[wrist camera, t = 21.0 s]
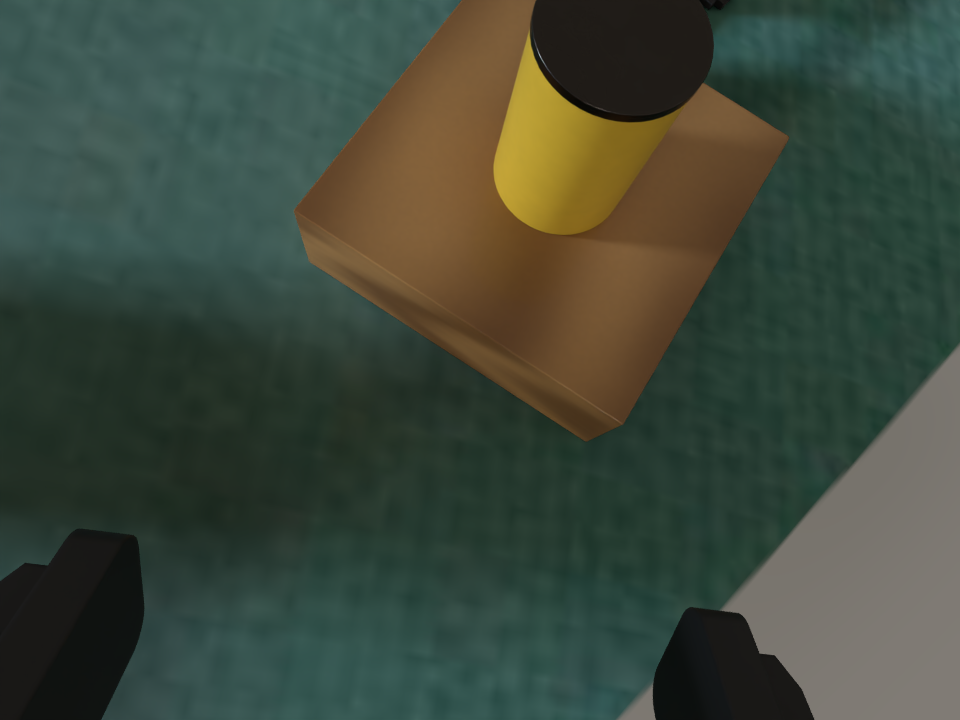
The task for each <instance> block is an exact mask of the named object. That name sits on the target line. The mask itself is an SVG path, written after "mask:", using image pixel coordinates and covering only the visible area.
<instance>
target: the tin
mask: <svg viewBox="0 0 960 720" xmlns="http://www.w3.org/2000/svg"><path fill="white" fill-rule="evenodd" d="M713 49H714V42H713V33H712V28H711V24H710V21H709V18H708V15H707V13H706V11H705V9H704V7H703V5H702V4H701V2H700V1H699V0H536V1H535V4H534V7H533V11H532V15H531V21H530V29H529V33H528V37H527V40H526V44H525V48H524V51H523V55H522V59H521V62H520V66H519V70H518V73H517V77H516V81H515V85H514V88H513V92H512V96H511V99H510V103H509V107H508V110H507V114H506V118H505V121H504V125H503V129H502V132H501V136H500V140H499V143H498V147H497V151H496V155H495V159H494V180H495V184H496V188H497V190H498V193H499V195H500V197H501V199H502V200H503V202H504V204H505V205H506V206H507V208H508V209H509V210H510V211H511V212H512V213H513V214H514V215H515V216H516V217H517V218H518V219H519V220H521V221H522V222H524V223H525V224H527V225H528V226H530V227H532V228H534V229H537V230H539V231H542V232H545V233H550V234H557V235H571V234H577V233H582V232H585V231H588V230H590V229H592V228H594V227H596V226H597V225H599V224H600V223H602V222H603V221H604V220H605V219H606V218H608V216H609V215H610V214H611V213H612V212H613V210H614V209H615V207H616V206H617V204H618V203H619V202H620V200H621V199H622V197H623V196H624V194H625V193H626V191H627V190H628V188H629V187H630V185H631V184H632V183H633V181H634V180H635V178H636V177H637V175H638V174H639V172H640V171H641V169H642V168H643V166H644V165H645V164H646V162H647V161H648V159H649V158H650V156H651V155H652V153H653V152H654V150H655V149H656V147H657V146H658V145H659V143H660V142H661V140H662V139H663V137H664V136H665V134H666V133H667V131H668V130H669V128H670V127H671V126H672V124H673V123H674V121H675V120H676V118H677V117H678V115H679V114H680V112H681V111H682V109H683V108H684V107H685V105H686V104H687V102H688V101H689V100H690V99H691V98H692V97H693V96H694V95H695V93H696V92H697V91H698V89H699V88H700V86H701V85H702V83H703V82H704V80H705V78H706V77H707V74H708V72H709V69H710V67H711V63H712V59H713Z"/></svg>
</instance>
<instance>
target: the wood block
mask: <svg viewBox="0 0 960 720" xmlns="http://www.w3.org/2000/svg"><path fill="white" fill-rule="evenodd" d="M535 1H536V0H462V1H461V2H460V3H459V5H458V6H457V7H456V8H455V10H454V11H453V12H452V13H451V15H450V16H449V17H448V18H447V20H446V21H445V22H444V23H443V25H442V26H441V27H440V28H439V30H438V31H437V32H436V33H435V35H434V36H433V37H432V38H431V40H430V41H429V42H428V43H427V44H426V46H425V47H424V48H423V49H422V51H421V52H420V53H419V54H418V56H417V57H416V58H415V59H414V61H413V62H412V63H411V64H410V66H409V67H408V68H407V69H406V71H405V72H404V73H403V74H402V76H401V77H400V78H399V79H398V81H397V82H396V83H395V84H394V86H393V87H392V88H391V89H390V91H389V92H388V93H387V94H386V96H385V97H384V98H383V99H382V101H381V102H380V103H379V104H378V106H377V107H376V108H375V109H374V111H373V112H372V113H371V114H370V116H369V117H368V118H367V119H366V121H365V122H364V123H363V124H362V126H361V127H360V128H359V129H358V131H357V132H356V133H355V134H354V136H353V137H352V138H351V139H350V141H349V142H348V143H347V144H346V146H345V147H344V148H343V149H342V151H341V152H340V153H339V154H338V156H337V157H336V158H335V159H334V161H333V162H332V163H331V164H330V166H329V167H328V168H327V169H326V171H325V172H324V173H323V174H322V176H321V177H320V178H319V179H318V181H317V182H316V183H315V184H314V185H313V187H312V188H311V189H310V190H309V192H308V193H307V194H306V195H305V197H304V198H303V199H302V200H301V202H300V203H299V204H298V205H297V207H296V208H295V209H294V213H295V217H296V220H297V223H298V226H299V230H300V233H301V236H302V239H303V243H304V246H305V249H306V252H307V256H308V259H309V262H311V263H312V264H314V265H315V266H317V267H318V268H320V269H321V270H323V271H325V272H326V273H328V274H329V275H331V276H332V277H334V278H335V279H337V280H338V281H340V282H341V283H343V284H344V285H346V286H348V287H349V288H351V289H352V290H354V291H355V292H357V293H358V294H360V295H361V296H363V297H364V298H366V299H367V300H369V301H371V302H372V303H374V304H375V305H377V306H378V307H380V308H381V309H383V310H384V311H386V312H387V313H389V314H391V315H392V316H394V317H395V318H397V319H398V320H400V321H401V322H403V323H404V324H406V325H407V326H409V327H410V328H412V329H414V330H415V331H417V332H418V333H420V334H421V335H423V336H424V337H426V338H427V339H429V340H430V341H432V342H433V343H435V344H437V345H438V346H440V347H441V348H443V349H444V350H446V351H447V352H449V353H450V354H452V355H453V356H455V357H456V358H458V359H460V360H461V361H463V362H464V363H466V364H467V365H469V366H470V367H472V368H473V369H475V370H476V371H478V372H480V373H481V374H483V375H484V376H486V377H487V378H489V379H490V380H492V381H493V382H495V383H496V384H498V385H499V386H501V387H503V388H504V389H506V390H507V391H509V392H510V393H512V394H513V395H515V396H516V397H518V398H519V399H521V400H522V401H524V402H526V403H527V404H529V405H530V406H532V407H533V408H535V409H536V410H538V411H539V412H541V413H542V414H544V415H545V416H547V417H549V418H550V419H552V420H553V421H555V422H556V423H558V424H559V425H561V426H562V427H564V428H565V429H567V430H568V431H570V432H572V433H573V434H575V435H576V436H578V437H579V438H581V439H582V440H584V441H586V442H587V441H589V440H591V439H593V438H595V437H597V436H599V435H602V434H604V433H606V432H608V431H610V430H612V429H614V428H616V427H618V426H621V425H623V424H624V422H625V421H626V419H627V417H628V415H629V414H630V412H631V410H632V409H633V407H634V405H635V403H636V402H637V400H638V398H639V396H640V395H641V393H642V391H643V390H644V388H645V386H646V384H647V383H648V381H649V379H650V378H651V376H652V374H653V372H654V371H655V369H656V367H657V365H658V364H659V362H660V360H661V359H662V357H663V355H664V353H665V352H666V350H667V348H668V347H669V345H670V343H671V341H672V340H673V338H674V336H675V334H676V333H677V331H678V329H679V328H680V326H681V324H682V322H683V321H684V319H685V317H686V316H687V314H688V312H689V310H690V309H691V307H692V305H693V303H694V302H695V300H696V298H697V297H698V295H699V293H700V291H701V290H702V288H703V286H704V285H705V283H706V281H707V279H708V278H709V276H710V274H711V272H712V271H713V269H714V267H715V266H716V264H717V262H718V260H719V259H720V257H721V255H722V254H723V252H724V250H725V248H726V247H727V245H728V243H729V241H730V240H731V238H732V236H733V235H734V233H735V231H736V229H737V228H738V226H739V224H740V223H741V221H742V219H743V217H744V216H745V214H746V212H747V210H748V209H749V207H750V205H751V204H752V202H753V200H754V198H755V197H756V195H757V193H758V192H759V190H760V188H761V186H762V185H763V183H764V181H765V179H766V178H767V176H768V174H769V173H770V171H771V169H772V167H773V166H774V164H775V162H776V161H777V159H778V157H779V155H780V154H781V152H782V150H783V148H784V147H785V145H786V143H787V142H788V140H789V136H787V135H786V134H784V133H782V132H781V131H779V130H778V129H776V128H774V127H773V126H771V125H770V124H768V123H767V122H765V121H763V120H762V119H760V118H759V117H757V116H755V115H754V114H752V113H751V112H749V111H747V110H746V109H744V108H743V107H741V106H740V105H738V104H736V103H735V102H733V101H732V100H730V99H728V98H727V97H725V96H724V95H722V94H721V93H719V92H717V91H716V90H714V89H713V88H711V87H709V86H708V85H706V84H705V83H702V85H701V86H700V88H699V89H698V91H697V92H696V93H695V95H694V96H693V97H692V98H691V99H690V100H689V101H688V102H687V104H686V105H685V107H684V108H683V109H682V111H681V112H680V114H679V115H678V117H677V118H676V120H675V121H674V123H673V124H672V126H671V127H670V128H669V130H668V131H667V133H666V134H665V136H664V137H663V139H662V140H661V142H660V143H659V145H658V146H657V147H656V149H655V150H654V152H653V153H652V155H651V156H650V158H649V159H648V161H647V162H646V164H645V165H644V166H643V168H642V169H641V171H640V172H639V174H638V175H637V177H636V178H635V180H634V181H633V183H632V184H631V185H630V187H629V188H628V190H627V191H626V193H625V194H624V196H623V197H622V199H621V200H620V202H619V203H618V204H617V206H616V207H615V209H614V210H613V212H612V213H611V214H610V215H609V216H608V218H606V219H605V220H604V221H603V222H602V223H600V224H599V225H597V226H596V227H594V228H592V229H590V230H588V231H585V232H582V233H577V234H571V235H557V234H550V233H545V232H542V231H539V230H537V229H534V228H532V227H530V226H528V225H527V224H525V223H524V222H522V221H521V220H519V219H518V218H517V217H516V216H515V215H514V214H513V213H512V212H511V211H510V210H509V209H508V208H507V206H506V205H505V204H504V202H503V200H502V199H501V197H500V195H499V193H498V190H497V188H496V184H495V180H494V159H495V155H496V151H497V147H498V143H499V140H500V136H501V132H502V129H503V125H504V121H505V118H506V114H507V110H508V107H509V103H510V99H511V96H512V92H513V88H514V85H515V81H516V77H517V73H518V70H519V66H520V62H521V59H522V55H523V51H524V48H525V44H526V40H527V37H528V33H529V29H530V21H531V15H532V11H533V7H534V4H535Z"/></svg>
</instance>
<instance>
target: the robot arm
mask: <svg viewBox="0 0 960 720" xmlns="http://www.w3.org/2000/svg"><path fill="white" fill-rule="evenodd" d="M143 617H144V597H143V587H142V577H141V566H140V556H139V546H138V541H137V538H136V537H135V536H134V535H127V534H119V533H111V532H103V531H96V530H88V529H76V530H75V531H73V532H72V533H71V534H70V535H69V536H68V537H67V539H66V540H65V541H64V543H63V544H62V546H61V547H60V549H59V550H58V552H57V553H56V555H55V556H54V558H53V559H52V560H51V562H50V563H49V565H48V566H46V565H38V564H30V563H24V564H23V565H22V566H20V567H19V568H18V569H16V570H15V571H13V572H12V573H11V574H9V575H8V576H7V577H5V578H4V579H3V580H1V581H0V720H101V719H102V717H103V715H104V713H105V711H106V708H107V706H108V704H109V702H110V700H111V698H112V696H113V694H114V692H115V690H116V688H117V686H118V683H119V681H120V679H121V677H122V675H123V673H124V671H125V669H126V667H127V665H128V663H129V661H130V659H131V656H132V654H133V652H134V650H135V647H136V645H137V642H138V639H139V636H140V632H141V628H142V623H143ZM653 706H654V712H655V718H656V720H814V718H813V715H812V713H811V711H810V708H809V705H808V703H807V701H806V698H805V696H804V694H803V691H802V689H801V688H800V687H799V685H798V684H797V683H796V682H795V680H794V679H793V678H792V677H791V675H790V674H789V673H788V671H787V670H786V669H785V668H784V666H783V665H782V664H781V663H780V661H779V660H778V659H777V658H776V656H774V655H767V654H759V651H758V648H757V646H756V643H755V641H754V638H753V635H752V633H751V631H750V628H749V625H748V623H747V621H746V620H745V618H744V617H743V616H742V615H741V614H739V613H732V612H725V611H717V610H709V609H701V608H693V607H690V608H688V609H686V610H685V612H684V613H683V615H682V617H681V619H680V621H679V623H678V625H677V627H676V629H675V631H674V634H673V636H672V638H671V640H670V642H669V644H668V646H667V648H666V650H665V652H664V654H663V656H662V658H661V660H660V662H659V664H658V667H657V669H656V672H655V677H654V683H653Z"/></svg>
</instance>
